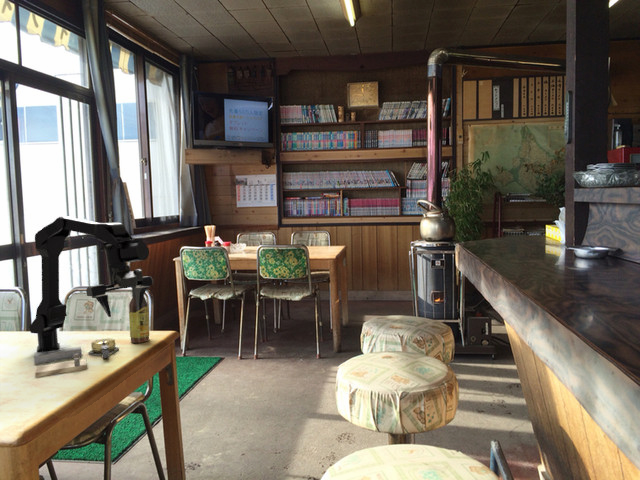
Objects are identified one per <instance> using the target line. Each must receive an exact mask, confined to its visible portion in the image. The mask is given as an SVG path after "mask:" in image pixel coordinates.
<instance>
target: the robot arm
mask: <svg viewBox="0 0 640 480" xmlns="http://www.w3.org/2000/svg"><path fill="white" fill-rule="evenodd" d="M72 232H75V233H81V234H85V235H89V236H93V237H94V238H95V239H96V240H98V241H101V242H103V243H102V245H101V246H100V247H99V248H98V251H101V252H103V251H104V253H105V257H106V258H105V259H106V264H107V268H106V272H108V278H109V281H108V285H107V284H106V285H105V284H94V285H90V286H87V288H86V291H85V292H86V296H87V297H91V298H92V299H95V300H96V301H97V302H98V303H99V304H100V306H101V308H102V309H103V310H104V312H105V314H107V315H106V316H107V317H108V318H111V317H112V316H111V315H112V313H111V308H110V303H109V295H108V294H106V293H107V292H111V291H112V292H113V291H116V290H120V289H121V290H122V289H128V288H131V287H135V286H136V288H134V291H135V297H136V304H137V308H138V310H141V305H142V301H143V296H144V297H145V294H146V291H148V289H150V287H151V286H154V279H153V278H152V276H150V275H149V276H148V275H147V276H146V275H145V276H143V270H142V269H141V268H137V269H134V270H133V271H132V270H131V267H130V265H128V263H134V262H140V261H146V260H147V259H148V258H149V256H150V255H149V254H150V248H149V247H148V245H147V243H145V242H144V241H143V238H142V237H141V238H140V237H138V238H133V236H132V235H131V234H130V233H129V232H128V230H127V229H126V228H125V224H123V223H121V222H96V221H92V220H91V221H90V220H86V219H81V218H75V217H74V216H71V215H69V216H67V215H66V216H59V217H57V218H56V219H54V221H53V222H50V223H49V224H47V225H46V226H44V227H43V228H41V229H39V230H38V231H37V232H36V233H35V234H34V242H35V243H34V244H35V250H36V251H37V252H38V253H39V255H40V257H41V301H40V302H39V305H38V306H37V308H36V311H35V312H36V313H35V318H34V319H33V321H32V322H31V324H30V325H29V327H28V328H29V332H30V333H31V334H37V344H38V345H37V347H36V353H39V352H46V351H48V352H49V351H56V350H60V342H59V339H58V338H59V337H58V329H62V328H63V326H64V322H65V320H66V317H67V316H68V314H67V305H66V304H65V303H63V302H62V301H61V300H60V256H61V254H62V252H63V250H64V248H65V242H66V240H67V238H69V237H70V236H71V233H72Z"/></svg>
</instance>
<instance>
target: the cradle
mask: <svg viewBox="0 0 640 480" xmlns="http://www.w3.org/2000/svg"><path fill="white" fill-rule="evenodd" d="M80 358H81V357H79V354H74V358H73V360H72V361H64V362H59V363H52V364H46V365H39V366H36V367H35V373H34V374H35V378H40V377H45V376H50V375H57V374H63V373H69V372H76V371H81V370H87V369H88V363H87V358H83V359H80Z"/></svg>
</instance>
